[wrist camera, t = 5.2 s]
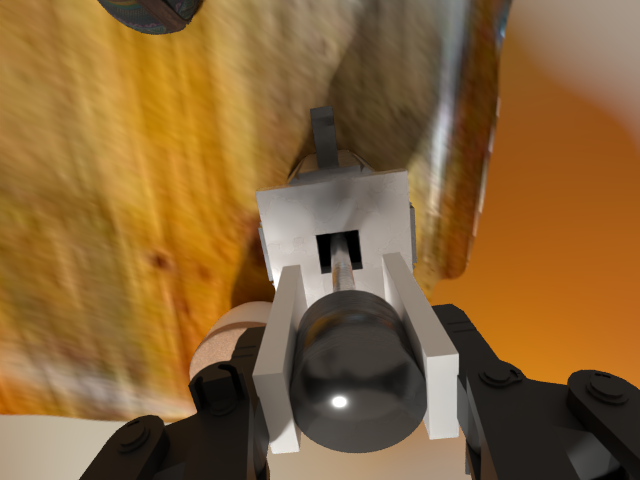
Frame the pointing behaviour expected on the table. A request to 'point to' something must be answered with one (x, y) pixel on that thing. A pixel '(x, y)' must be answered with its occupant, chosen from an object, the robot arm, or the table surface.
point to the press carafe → (336, 215)
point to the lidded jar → (228, 334)
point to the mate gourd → (152, 14)
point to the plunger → (354, 365)
